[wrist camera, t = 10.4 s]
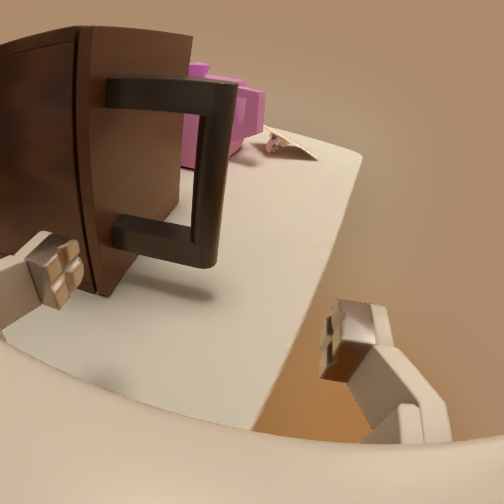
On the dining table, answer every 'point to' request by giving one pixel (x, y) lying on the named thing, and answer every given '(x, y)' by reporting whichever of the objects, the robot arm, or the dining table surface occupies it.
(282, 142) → the tan tilted flat slab
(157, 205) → the cupboard door
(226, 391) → the dining table surface
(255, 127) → the teakettle
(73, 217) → the cupboard
